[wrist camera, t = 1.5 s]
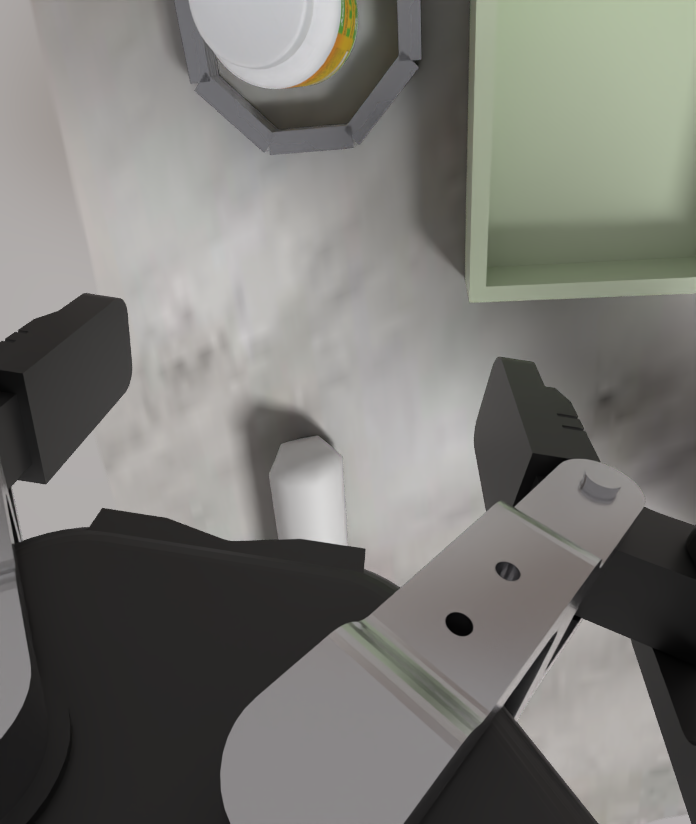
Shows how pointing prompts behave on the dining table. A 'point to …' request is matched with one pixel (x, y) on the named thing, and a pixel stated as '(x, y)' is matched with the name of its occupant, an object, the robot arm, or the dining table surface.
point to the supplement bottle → (278, 38)
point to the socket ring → (305, 138)
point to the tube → (309, 492)
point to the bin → (581, 149)
